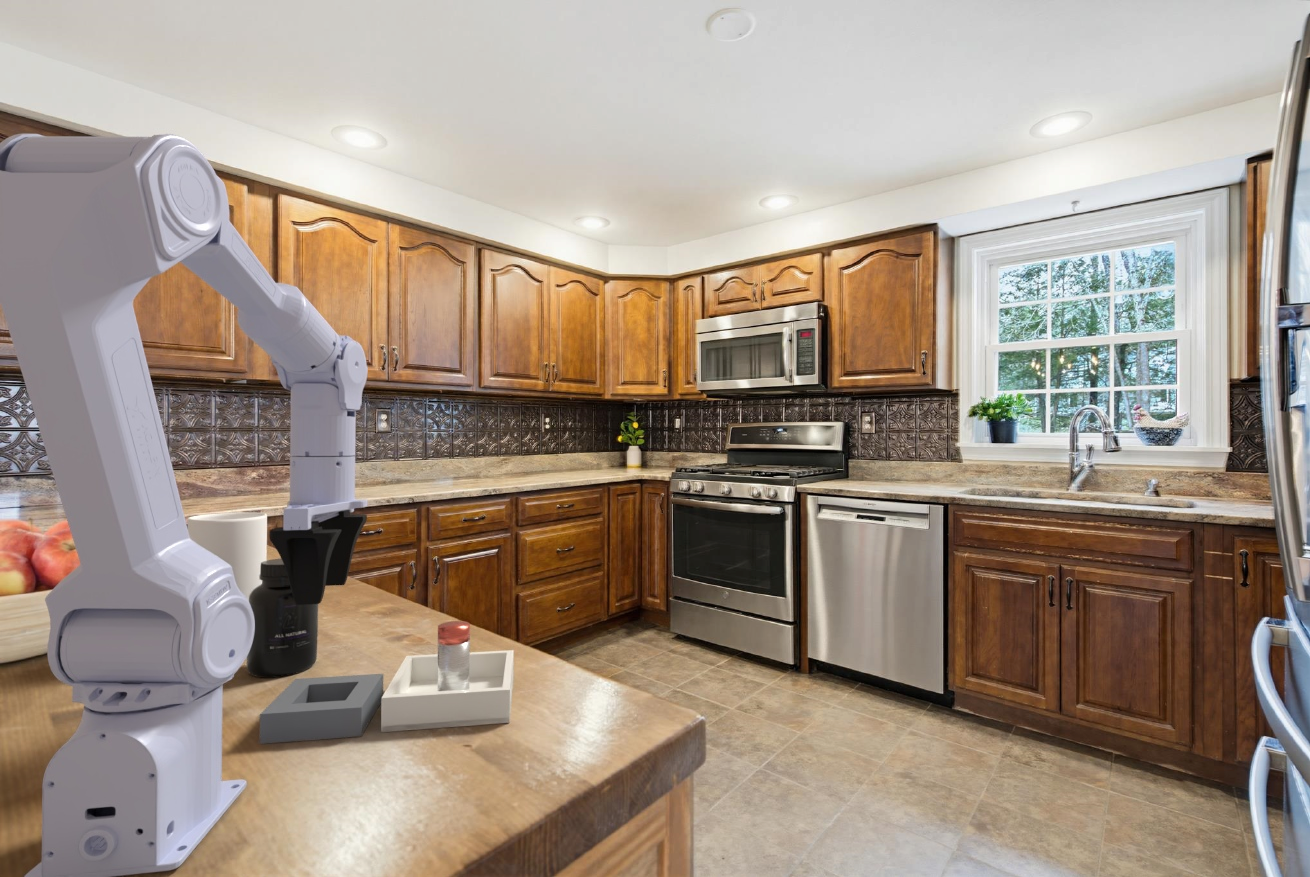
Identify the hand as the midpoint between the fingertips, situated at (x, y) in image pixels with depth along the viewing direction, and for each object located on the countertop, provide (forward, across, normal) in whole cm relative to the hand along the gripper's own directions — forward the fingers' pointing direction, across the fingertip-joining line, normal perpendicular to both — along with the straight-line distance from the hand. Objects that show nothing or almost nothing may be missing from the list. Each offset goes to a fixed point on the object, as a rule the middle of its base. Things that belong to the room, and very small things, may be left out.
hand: (322, 593), depth 62 cm
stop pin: (+10, -3, -13) cm, 17 cm away
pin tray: (+10, -3, -13) cm, 17 cm away
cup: (+11, +20, +17) cm, 28 cm away
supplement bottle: (+11, +10, +7) cm, 16 cm away
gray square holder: (+10, -5, -2) cm, 12 cm away
